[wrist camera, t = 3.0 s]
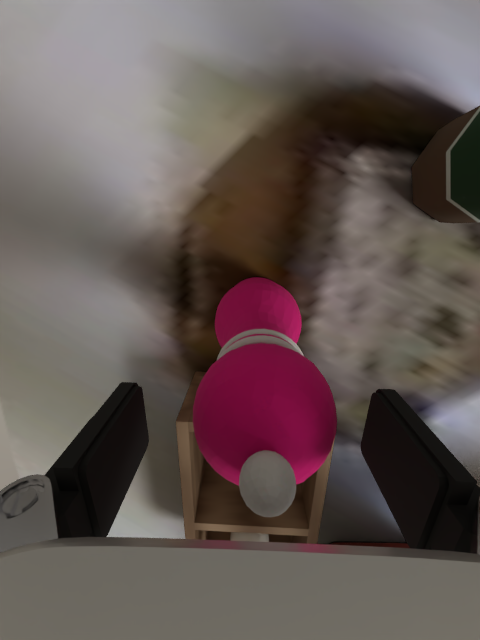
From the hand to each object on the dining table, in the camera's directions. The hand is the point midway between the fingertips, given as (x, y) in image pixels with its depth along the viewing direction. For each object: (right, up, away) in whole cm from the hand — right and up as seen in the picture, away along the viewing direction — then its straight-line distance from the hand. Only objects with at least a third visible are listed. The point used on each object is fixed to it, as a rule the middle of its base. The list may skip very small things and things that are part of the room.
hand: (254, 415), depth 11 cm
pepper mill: (+1, +5, +16) cm, 17 cm away
